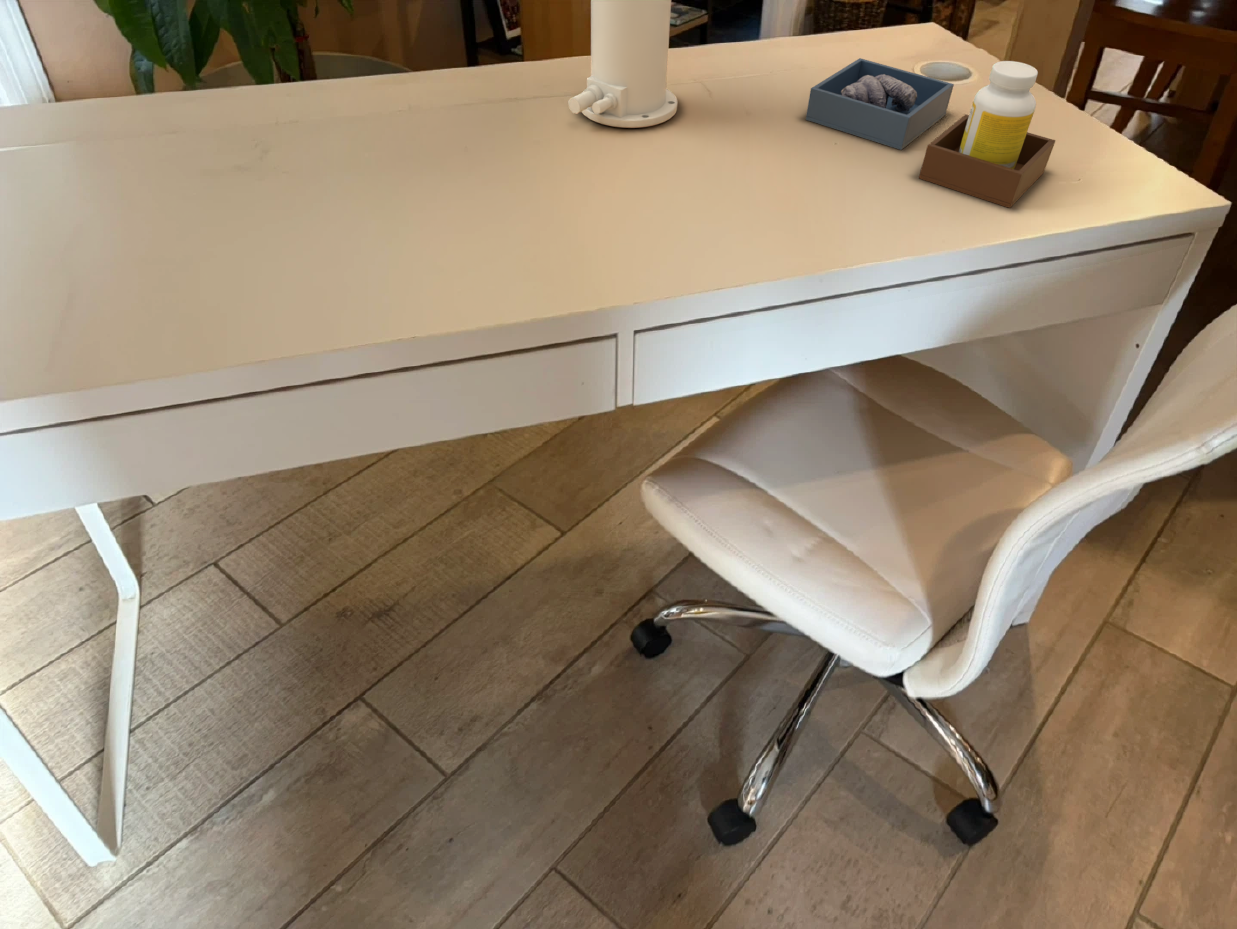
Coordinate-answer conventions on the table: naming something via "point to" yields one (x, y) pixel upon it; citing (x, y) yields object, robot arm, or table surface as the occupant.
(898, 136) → the blue bin
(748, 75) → the table surface
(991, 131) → the pill bottle
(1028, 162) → the brown bin
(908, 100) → the grey lumpy piece
